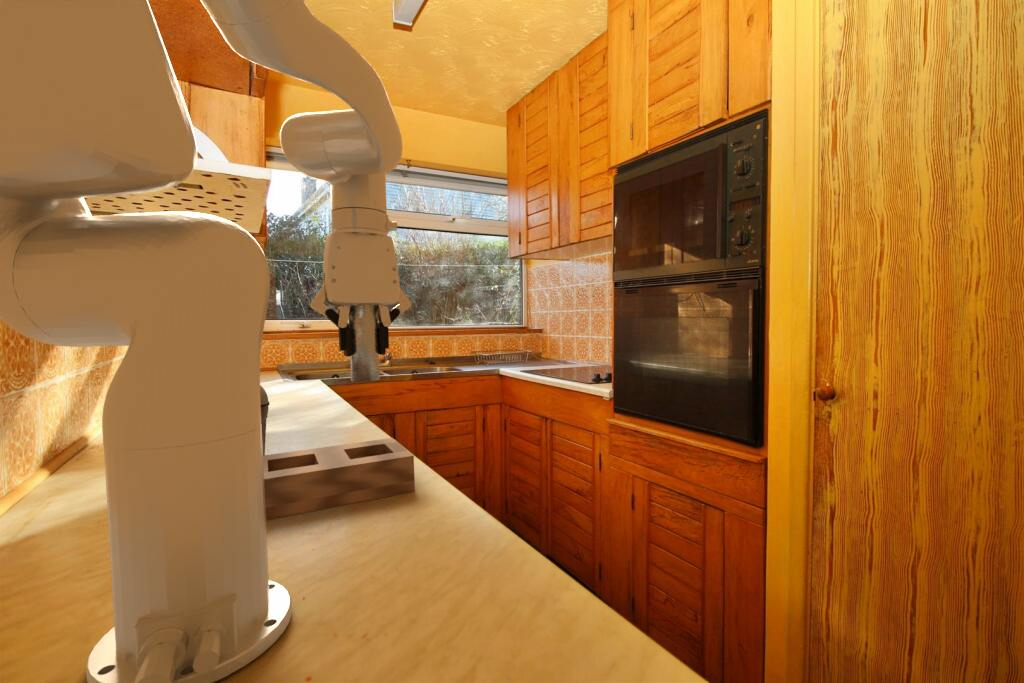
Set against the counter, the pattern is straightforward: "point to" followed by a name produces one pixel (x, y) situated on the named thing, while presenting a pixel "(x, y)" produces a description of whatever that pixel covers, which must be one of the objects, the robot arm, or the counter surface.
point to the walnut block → (335, 476)
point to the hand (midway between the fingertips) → (364, 353)
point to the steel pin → (364, 342)
